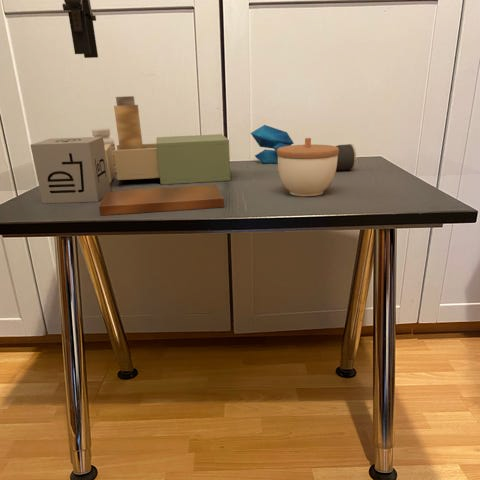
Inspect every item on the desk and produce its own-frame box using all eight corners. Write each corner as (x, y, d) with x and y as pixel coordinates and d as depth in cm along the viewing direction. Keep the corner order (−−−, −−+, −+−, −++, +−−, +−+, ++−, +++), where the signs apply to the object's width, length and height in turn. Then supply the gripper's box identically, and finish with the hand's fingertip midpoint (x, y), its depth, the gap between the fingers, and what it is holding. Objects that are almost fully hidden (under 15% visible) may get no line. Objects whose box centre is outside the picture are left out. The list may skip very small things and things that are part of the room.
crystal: (298, 134, 114) (250, 123, 115) (290, 171, 118) (242, 160, 119) (300, 131, 121) (254, 121, 121) (291, 166, 125) (247, 156, 125)
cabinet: (160, 184, 99) (156, 143, 96) (160, 174, 110) (156, 137, 107) (230, 180, 101) (229, 139, 97) (223, 171, 112) (221, 134, 109)
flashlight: (288, 176, 103) (289, 149, 101) (281, 172, 108) (281, 147, 106) (355, 171, 106) (357, 145, 104) (345, 167, 111) (347, 142, 108)
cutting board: (100, 215, 77) (98, 206, 76) (107, 199, 88) (106, 191, 87) (224, 207, 79) (223, 198, 79) (216, 192, 90) (215, 184, 89)
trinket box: (278, 200, 83) (279, 142, 79) (275, 188, 92) (275, 136, 88) (341, 198, 83) (344, 140, 78) (331, 186, 92) (333, 134, 88)
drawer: (82, 184, 97) (77, 151, 95) (89, 175, 107) (84, 145, 105) (171, 179, 100) (168, 147, 97) (170, 170, 110) (167, 141, 107)
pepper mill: (122, 173, 101) (111, 97, 94) (123, 170, 105) (113, 96, 99) (145, 172, 101) (136, 96, 95) (145, 169, 106) (137, 95, 99)
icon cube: (98, 201, 86) (88, 142, 82) (42, 203, 86) (30, 144, 82) (110, 190, 95) (102, 136, 91) (60, 192, 95) (50, 138, 91)
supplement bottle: (96, 171, 118) (89, 128, 113) (118, 170, 118) (113, 127, 114) (94, 175, 113) (87, 130, 108) (117, 173, 114) (111, 129, 109)
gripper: (78, -108, 73) (101, 51, 83) (95, -63, 96) (111, 58, 105) (27, -108, 72) (56, 52, 82) (56, -63, 95) (76, 59, 104)
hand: (87, 56), depth 94 cm, fingers open, 13 cm apart
